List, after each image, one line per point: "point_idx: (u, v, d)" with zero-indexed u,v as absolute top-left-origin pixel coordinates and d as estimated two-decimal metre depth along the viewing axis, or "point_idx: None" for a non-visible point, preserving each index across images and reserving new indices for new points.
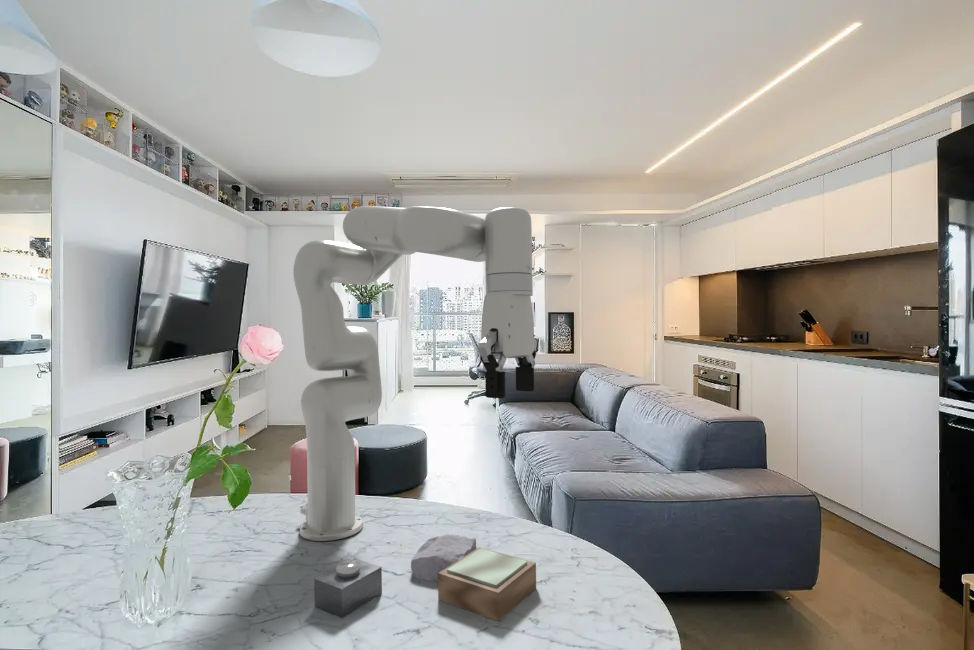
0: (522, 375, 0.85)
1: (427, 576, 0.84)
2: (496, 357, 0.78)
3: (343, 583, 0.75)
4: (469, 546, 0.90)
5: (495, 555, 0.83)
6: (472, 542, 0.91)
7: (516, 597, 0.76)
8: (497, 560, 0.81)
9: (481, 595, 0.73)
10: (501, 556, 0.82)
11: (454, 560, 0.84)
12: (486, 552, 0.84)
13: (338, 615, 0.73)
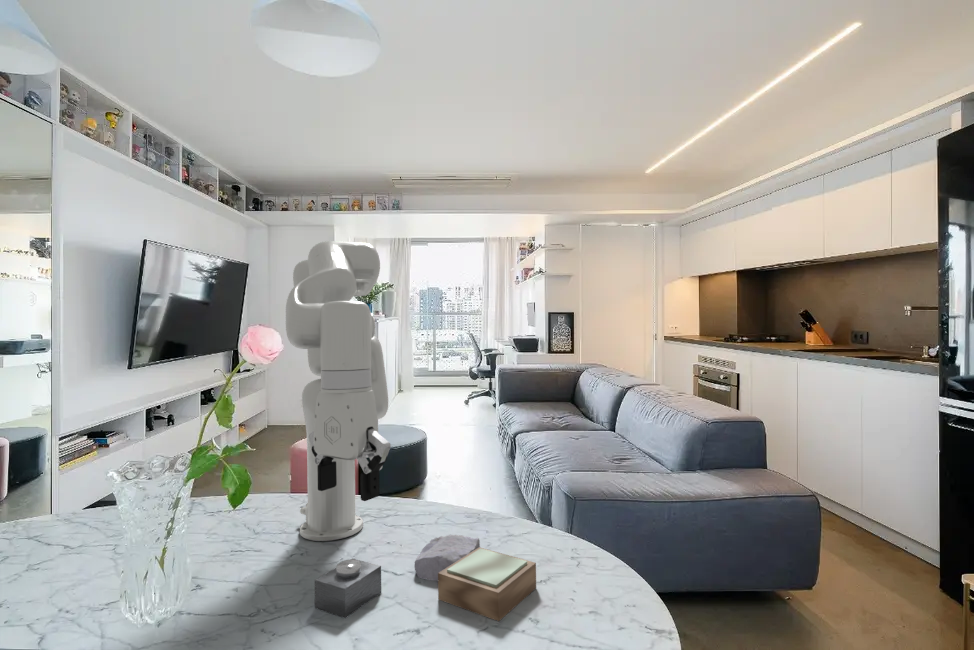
0: (327, 472, 0.80)
1: (431, 576, 0.84)
2: (365, 456, 0.76)
3: (345, 583, 0.75)
4: (473, 546, 0.90)
5: (495, 555, 0.83)
6: (476, 542, 0.91)
7: (516, 597, 0.76)
8: (497, 560, 0.81)
9: (481, 595, 0.73)
10: (501, 556, 0.82)
11: None
12: (486, 552, 0.84)
13: (341, 615, 0.73)
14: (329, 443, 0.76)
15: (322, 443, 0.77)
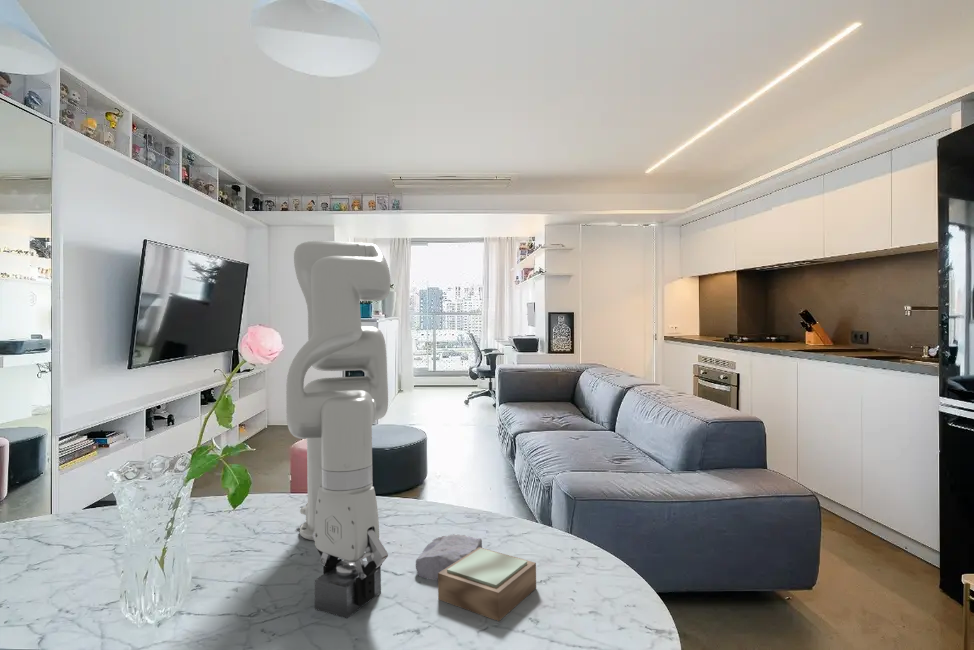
0: None
1: (431, 576, 0.84)
2: (363, 558, 0.76)
3: (347, 582, 0.75)
4: (474, 546, 0.90)
5: (495, 555, 0.83)
6: (477, 542, 0.91)
7: (516, 597, 0.76)
8: (497, 560, 0.81)
9: (481, 595, 0.73)
10: (501, 556, 0.82)
11: None
12: (486, 552, 0.84)
13: (342, 614, 0.73)
14: (330, 542, 0.76)
15: (323, 540, 0.77)
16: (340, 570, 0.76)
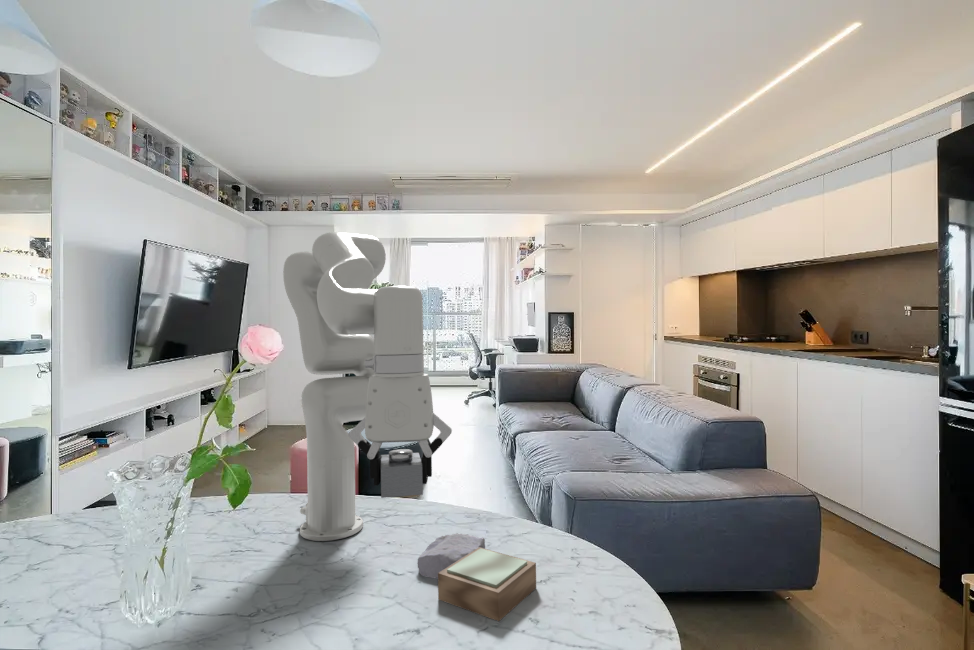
0: (380, 466, 0.78)
1: (433, 574, 0.85)
2: None
3: (414, 462, 0.76)
4: (476, 546, 0.90)
5: (495, 555, 0.83)
6: (480, 542, 0.91)
7: (516, 597, 0.76)
8: (497, 560, 0.81)
9: (481, 595, 0.73)
10: (501, 556, 0.82)
11: (459, 559, 0.84)
12: (486, 552, 0.84)
13: (417, 492, 0.75)
14: (394, 427, 0.76)
15: (382, 429, 0.76)
16: (400, 456, 0.77)
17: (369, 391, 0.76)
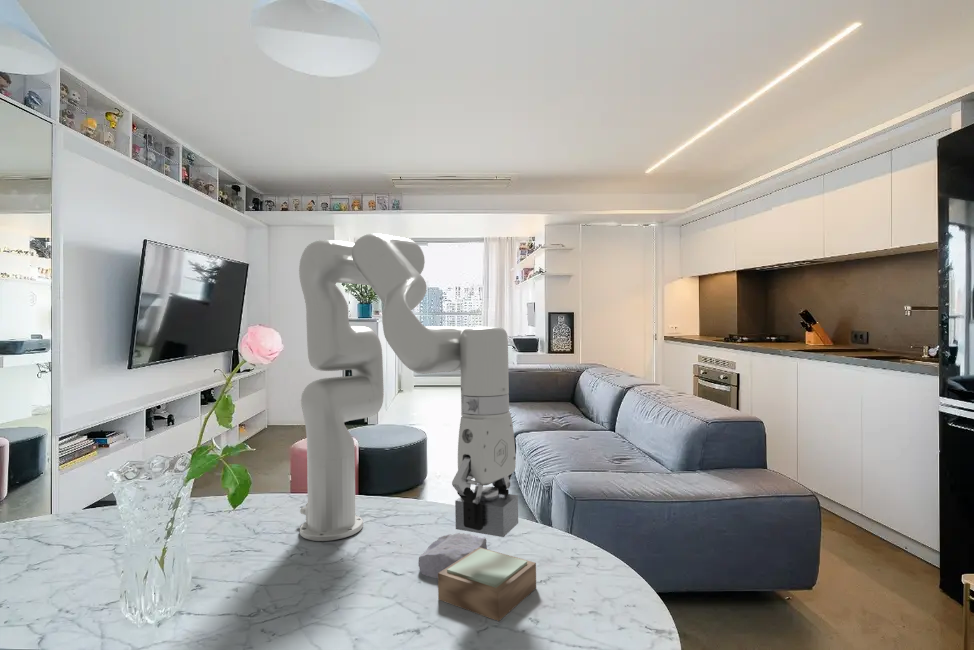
0: None
1: (433, 573, 0.85)
2: None
3: (507, 496, 0.80)
4: (478, 546, 0.90)
5: (495, 555, 0.83)
6: (481, 542, 0.91)
7: (516, 597, 0.76)
8: (497, 560, 0.81)
9: (481, 595, 0.73)
10: (501, 556, 0.82)
11: (459, 559, 0.84)
12: (486, 552, 0.84)
13: (516, 522, 0.80)
14: (499, 466, 0.77)
15: (492, 470, 0.76)
16: (497, 493, 0.79)
17: (482, 434, 0.75)
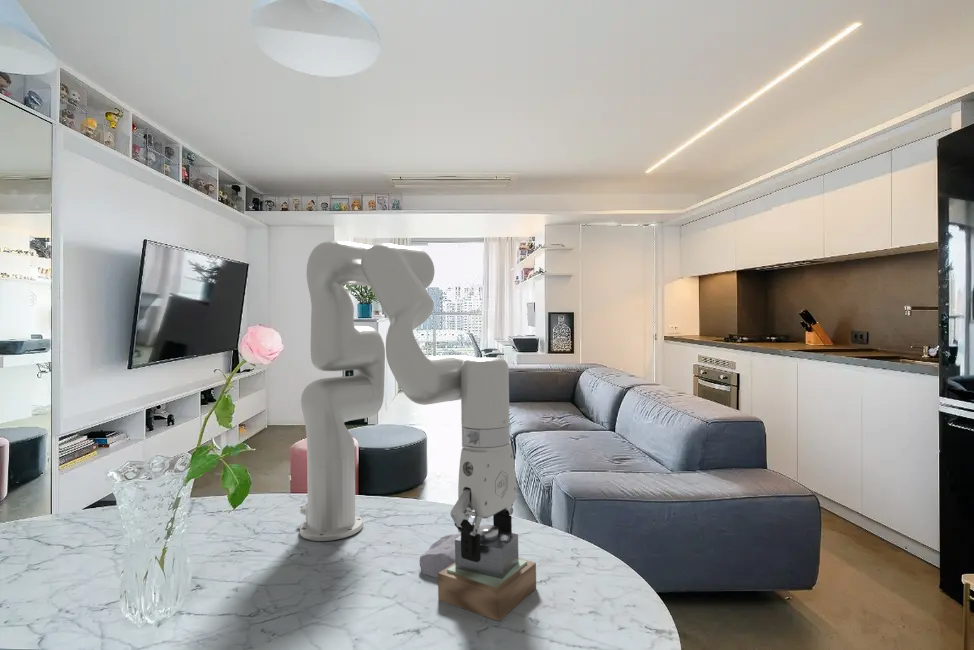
0: None
1: (434, 573, 0.85)
2: None
3: (507, 535, 0.80)
4: None
5: None
6: None
7: (516, 597, 0.76)
8: None
9: (481, 595, 0.73)
10: None
11: None
12: None
13: (516, 561, 0.79)
14: (499, 498, 0.77)
15: (493, 503, 0.76)
16: (496, 532, 0.78)
17: (483, 467, 0.75)
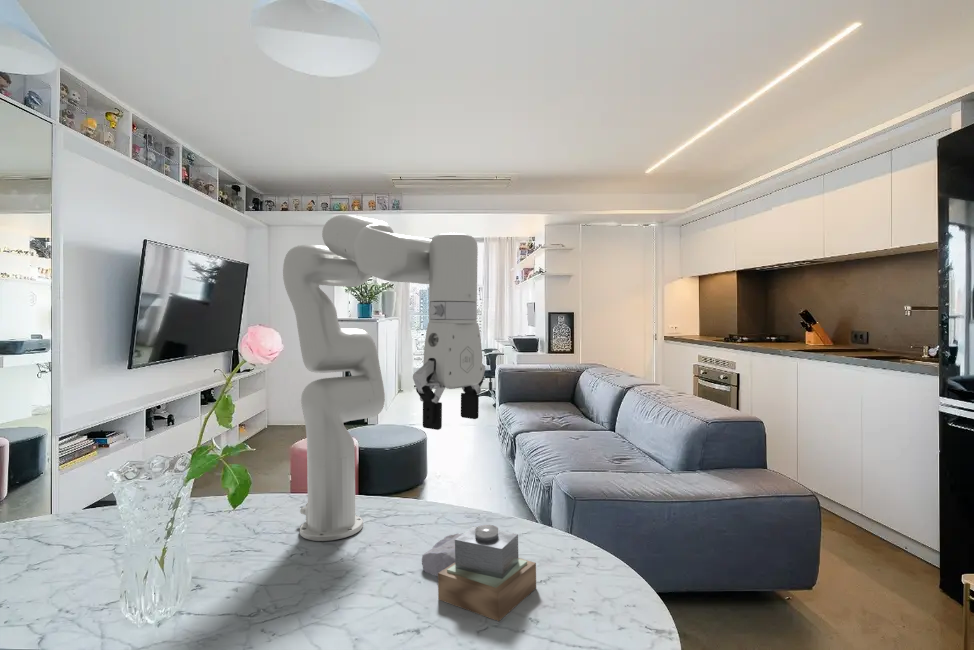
0: None
1: (435, 572, 0.86)
2: None
3: (507, 535, 0.80)
4: None
5: None
6: None
7: (516, 597, 0.76)
8: None
9: (481, 595, 0.73)
10: None
11: None
12: None
13: (516, 561, 0.79)
14: (464, 372, 0.78)
15: (457, 375, 0.76)
16: (496, 532, 0.78)
17: (448, 337, 0.75)
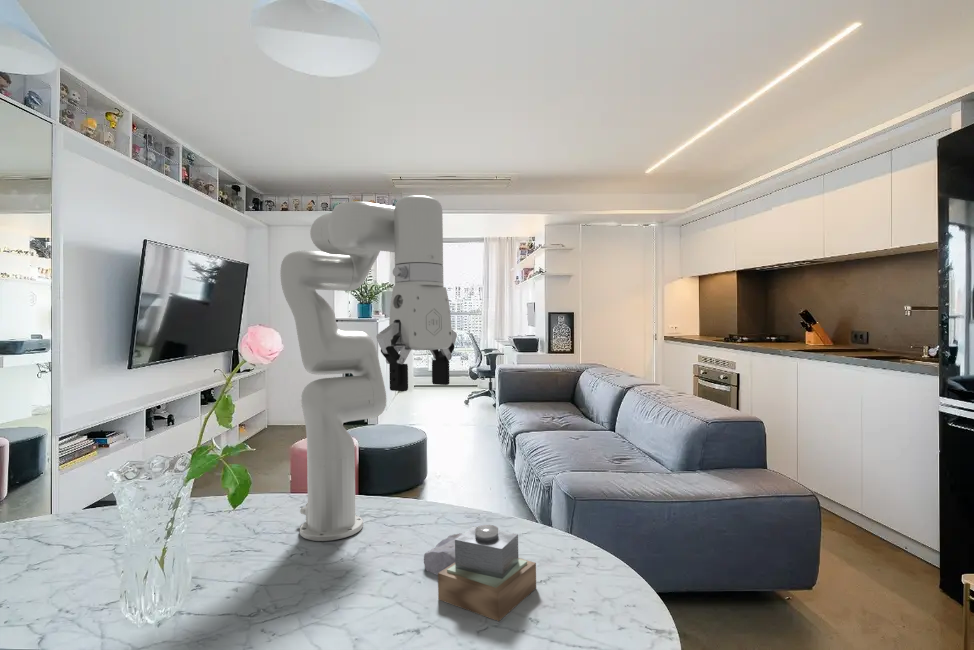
0: None
1: (436, 571, 0.86)
2: None
3: (507, 535, 0.80)
4: None
5: None
6: None
7: (516, 597, 0.76)
8: None
9: (481, 595, 0.73)
10: None
11: None
12: None
13: (516, 561, 0.79)
14: (431, 335, 0.77)
15: (423, 337, 0.76)
16: (496, 532, 0.78)
17: (412, 298, 0.74)
